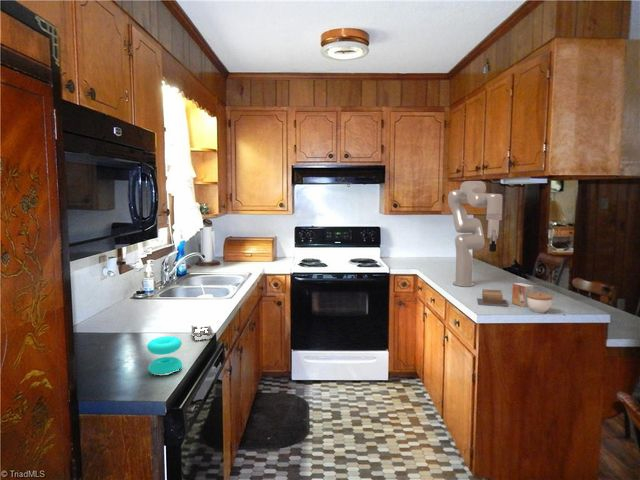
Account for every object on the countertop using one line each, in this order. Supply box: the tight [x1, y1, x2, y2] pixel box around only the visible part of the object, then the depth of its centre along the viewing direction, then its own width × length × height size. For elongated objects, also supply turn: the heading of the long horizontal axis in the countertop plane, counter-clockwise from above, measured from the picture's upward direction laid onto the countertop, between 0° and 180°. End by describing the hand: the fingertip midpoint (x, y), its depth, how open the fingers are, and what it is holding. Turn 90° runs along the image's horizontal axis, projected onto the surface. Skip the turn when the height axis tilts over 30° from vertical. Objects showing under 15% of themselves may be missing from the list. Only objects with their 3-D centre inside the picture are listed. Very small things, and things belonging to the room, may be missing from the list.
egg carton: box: [191, 325, 213, 337], centre depth 167 cm, size 11×8×4 cm
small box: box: [511, 282, 534, 308], centre depth 215 cm, size 8×6×10 cm
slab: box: [481, 288, 504, 304], centre depth 221 cm, size 5×9×12 cm
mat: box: [477, 297, 509, 308], centre depth 219 cm, size 12×14×1 cm
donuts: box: [146, 335, 183, 374], centre depth 133 cm, size 10×10×10 cm
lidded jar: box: [527, 291, 553, 314], centre depth 203 cm, size 11×11×9 cm
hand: (492, 251), depth 229 cm, fingers closed
